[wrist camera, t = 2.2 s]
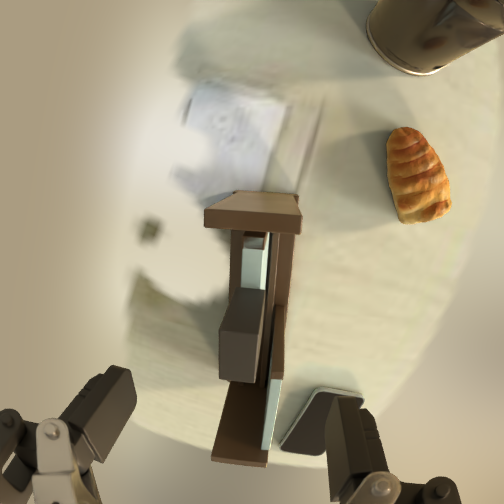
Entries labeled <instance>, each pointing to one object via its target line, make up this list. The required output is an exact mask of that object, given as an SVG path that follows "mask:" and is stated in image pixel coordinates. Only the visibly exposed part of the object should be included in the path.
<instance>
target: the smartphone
mask: <svg viewBox="0 0 504 504" xmlns="http://www.w3.org/2000/svg"><path fill="white" fill-rule="evenodd" d="M335 396H355V398H356V401H357V405H358V409H360V408H361V406H362V405H363V404H364V396H363V395H362V394H361V393H355V392H349V391H344V390H338V389H333V388H327V387H319V388H317V389H315V390H314V391H313V393H312V395H311V396H310V398H309V400H308V401H307V403H306V404H305V406H304V408H303V409H302V411H301V412H300V414H299V416H298V417H297V419H296V420H295V422H294V423H293V425H292V426H291V428H290V429H289V431H288V432H287V434H286V435H285V437H284V438H283V440H282V441H281V443H280V447H279V449H280V450H281V451H283V452H289V453H296V454H302V455H310V456H319V455H322V454H323V453H324V452H325V451H326V443H325V424H326V420H327V417H328V414H329V411H330V408H331V405H332V402H333V399H334V397H335Z"/></svg>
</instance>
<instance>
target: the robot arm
mask: <svg viewBox="0 0 504 504" xmlns="http://www.w3.org/2000/svg"><path fill="white" fill-rule="evenodd" d="M366 30H367V34H368V37H369V40H370V42H371V44H372V45H373V47H374V49H375V50H376V51H377V52H378V54H379V55H380V56H381V57H382V58H383V59H384V60H385V61H386V62H388V63H389V64H390V65H392V66H393V67H395V68H396V69H398V70H400V71H402V72H404V73H407V74H410V75H414V76H427V75H430V74H433V73H434V72H436V71H438V70H439V69H441V67H442V68H443V66H444V67H446V66H445V65H447V64H448V63H450V62H452V61H454V60H456V59H458V58H459V57H461V56H463V55H465V54H467V53H468V52H470V51H472V50H474V49H476V48H478V47H480V46H481V45H483V44H485V43H487V42H489V41H491V40H493V39H495V38H497V37H499V36H501V35H503V34H504V0H379V1H378V3H377V4H376V6H375V8H374V9H373V10H372V11H371V13H370V14H369V16H368V19H367V22H366ZM447 66H448V65H447ZM136 403H137V395H136V391H135V387H134V383H133V378H132V374H131V371H130V370H129V369H126V368H122V367H118V366H115V365H111V366H110V367H109V368H108V369H107V371H106V372H105V373H104V374H98V375H97V376H95V377H93V378H91V379H90V380H89V381H88V382H87V384H86V385H85V386H84V388H83V389H82V390H81V391H80V392H79V394H78V395H77V396H76V397H75V398H74V399H73V401H72V402H71V403H70V404H69V406H68V407H67V408H66V409H65V411H64V412H63V413H62V414H61V416H60V417H59V418H58V419H56V418H49V419H45V420H43V421H42V422H41V423H40V424H39V423H33V422H29V421H25V420H23V419H22V417H21V416H20V414H19V413H18V412H17V411H16V410H14V409H4V410H2V411H0V504H26V503H27V501H28V500H29V498H30V496H31V494H32V492H33V493H34V500H35V504H102V502H101V498H100V495H99V492H98V489H97V485H96V481H95V478H94V474H93V471H92V467H91V463H92V462H93V460H96V461H98V462H100V463H104V461H105V459H106V458H107V456H108V454H109V452H110V450H111V449H112V447H113V445H114V443H115V442H116V440H117V438H118V437H119V435H120V433H121V431H122V430H123V428H124V426H125V424H126V422H127V421H128V419H129V417H130V416H131V414H132V412H133V411H134V409H135V406H136ZM379 437H380V436H379V433H378V430H377V426H376V422H375V419H374V417H373V416H372V414H371V413H370V412H369V411H368V410H367V409H366V408H365V409H358V405H357V401H356V398H355V396H335V397H334V399H333V402H332V405H331V408H330V411H329V414H328V417H327V420H326V424H325V443H326V453H327V464H328V475H329V488H330V501H331V502H340V504H461V500H460V496H459V493H458V490H457V487H456V484H455V483H454V482H453V481H452V480H451V479H449V478H447V477H435V478H433V479H431V480H429V481H428V482H427V483H426V484H414V483H404V482H401V481H399V479H398V478H397V477H396V476H395V475H393V474H391V473H390V472H389V469H388V466H387V462H386V459H385V454H384V451H383V447H382V443H381V440H380V439H379ZM12 452H14V453H15V454H16V455H15V456H14V458H13V459H12V461H11V463H10V464H9V466H8V467H7V469H6V470H5V472H4V473H3V474H2V468H3V466H4V464H5V463H6V461H7V460H8V458H9V457H10V455H11V454H12Z"/></svg>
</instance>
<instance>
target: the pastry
mask: <svg viewBox="0 0 504 504" xmlns="http://www.w3.org/2000/svg"><path fill="white" fill-rule="evenodd" d="M386 147H387V167H388V171H387V178H388V183H389V187H390V189H391V192H392V195H393V200H394V204H395V208H396V211H397V212H398V219H399V221H400V222H401V223H403V224H416V223H420V222H427V221H431V220H434V219H437V218H440V217H442V216H443V215H444V214H446V213H447V212H448V211H449V210H450V208H451V204H452V202H451V200H450V188H449V180H448V178H447V176H446V174H445V170H444V166H443V165H442V163H441V161H440V159H439V156H438V155H437V154H436V153H435V151H434V149H433V148H432V147H431V146H430V145H429V144H428V142H427V140H426V139H425V138H424V136H423V135H422V134H421V133H420V132H419V131H417V130H415V129H412V128H409V127H401V128H398V129H395V130H393V131H392V133H391V135H390V137H389V139H388V140H387V143H386Z"/></svg>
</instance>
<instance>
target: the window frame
mask: <svg viewBox="0 0 504 504" xmlns="http://www.w3.org/2000/svg"><path fill="white" fill-rule="evenodd" d="M298 201H299V196H298V195H297V194H286V193H273V192H259V191H243V190H235V191H233V195H231V196H229V197H227V198H225V199H223V200H221V201H219V202H217V203H215V204H213V205H211V206H210V207H208V208H206V209H205V210H204V227H205V228H218V229H231V250H230V280H229V303H230V300H231V298H232V295H233V293H234V290H235V288H236V287H241V269H242V235H243V234H244V232H245V230H246V231H259V232H270V233H269V247H268V261H267V274H266V286H265V290H266V293H265V305H264V317H263V329H262V337H261V345H260V352H259V359H258V366H257V373H256V380H255V383H247V382H239V381H230V380H227V381H229V382H230V384H229V388H228V392H227V396H226V400H225V404H224V408H223V412H222V415H221V419H220V423H219V427H218V431H217V435H216V439H215V442H214V446H213V450H212V454H211V460H212V461H215V462H221V463H229V464H235V465H244V466H254V467H264V468H266V466H267V462H268V451H269V450H270V446H271V441H272V436H273V430H274V425H275V419H276V414H277V408H278V402H279V396H280V390H281V384H282V380H283V376H284V335H285V326H286V318H287V310H288V302H289V293H290V284H291V275H292V266H293V256H294V246H295V235H300V234H301V231H302V220H303V216H302V214H301V212H300V210H299V207H298Z"/></svg>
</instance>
